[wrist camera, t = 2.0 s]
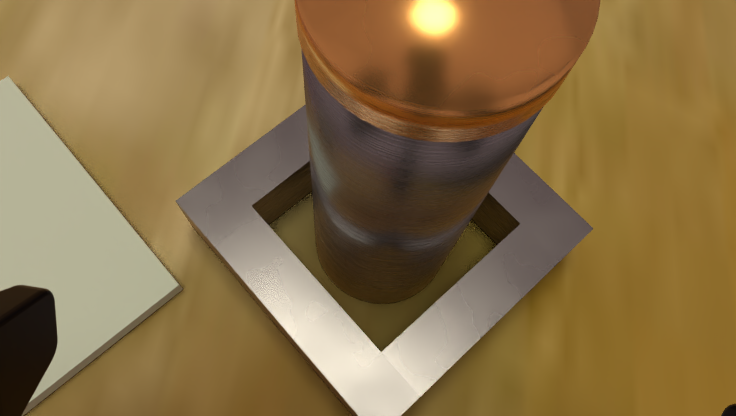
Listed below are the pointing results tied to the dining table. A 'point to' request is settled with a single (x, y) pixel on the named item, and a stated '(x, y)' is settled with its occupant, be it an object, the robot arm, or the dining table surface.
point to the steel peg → (420, 122)
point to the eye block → (325, 316)
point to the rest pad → (69, 243)
